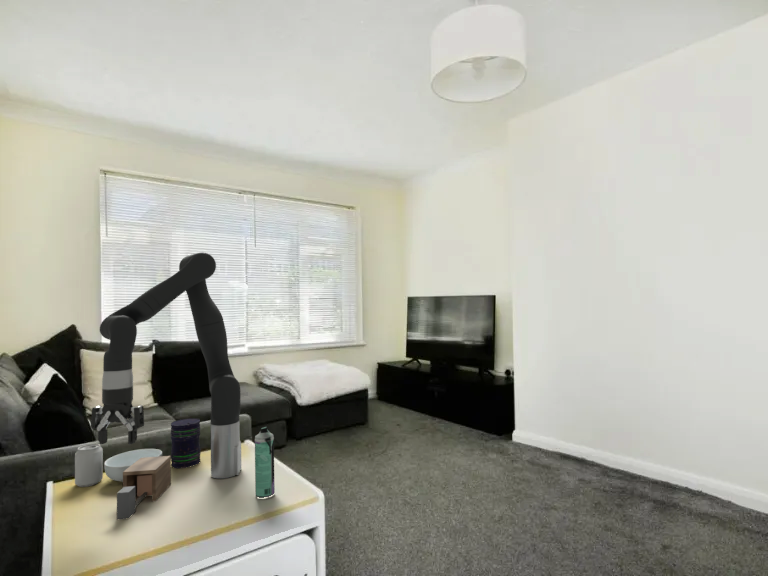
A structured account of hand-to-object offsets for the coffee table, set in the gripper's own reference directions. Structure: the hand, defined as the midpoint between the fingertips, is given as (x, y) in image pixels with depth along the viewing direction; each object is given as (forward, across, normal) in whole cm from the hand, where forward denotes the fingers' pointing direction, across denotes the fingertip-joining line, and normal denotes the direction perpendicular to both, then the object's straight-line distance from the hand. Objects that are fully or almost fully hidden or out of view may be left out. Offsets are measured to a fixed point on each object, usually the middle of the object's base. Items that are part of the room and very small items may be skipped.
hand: (117, 443), depth 122 cm
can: (+19, +22, -17) cm, 34 cm away
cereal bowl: (+19, +10, -22) cm, 31 cm away
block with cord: (+18, -4, -4) cm, 19 cm away
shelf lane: (+18, -2, -10) cm, 21 cm away
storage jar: (+18, 0, -35) cm, 40 cm away
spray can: (+18, -39, -10) cm, 44 cm away
